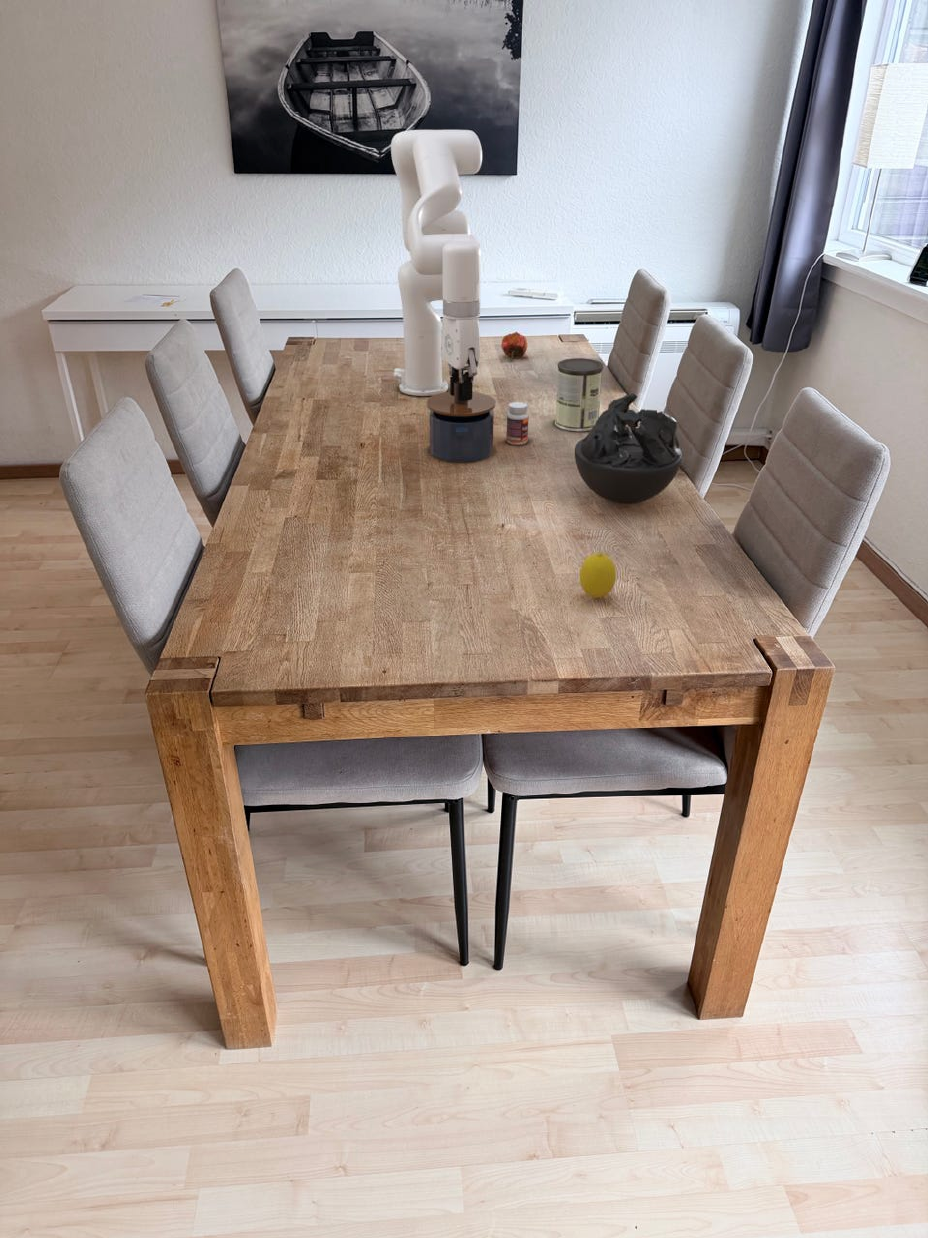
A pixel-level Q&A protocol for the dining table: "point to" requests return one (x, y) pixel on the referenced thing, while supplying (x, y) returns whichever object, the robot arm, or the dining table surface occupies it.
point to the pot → (461, 437)
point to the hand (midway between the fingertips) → (461, 396)
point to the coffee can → (578, 394)
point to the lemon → (598, 575)
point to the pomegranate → (514, 345)
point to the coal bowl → (629, 453)
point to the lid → (460, 404)
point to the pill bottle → (517, 423)
